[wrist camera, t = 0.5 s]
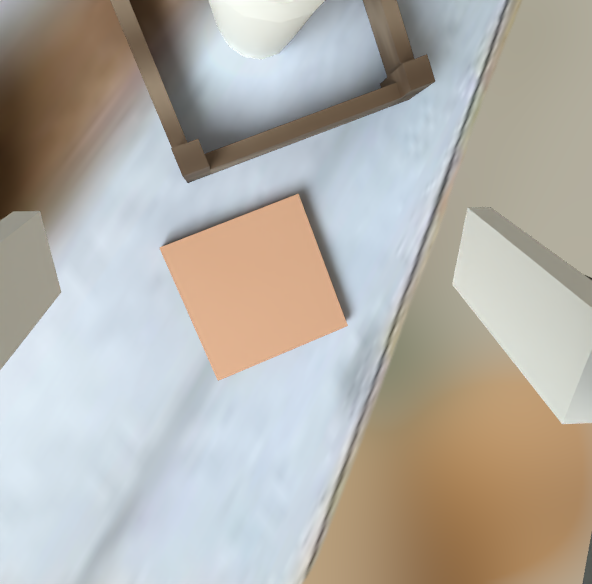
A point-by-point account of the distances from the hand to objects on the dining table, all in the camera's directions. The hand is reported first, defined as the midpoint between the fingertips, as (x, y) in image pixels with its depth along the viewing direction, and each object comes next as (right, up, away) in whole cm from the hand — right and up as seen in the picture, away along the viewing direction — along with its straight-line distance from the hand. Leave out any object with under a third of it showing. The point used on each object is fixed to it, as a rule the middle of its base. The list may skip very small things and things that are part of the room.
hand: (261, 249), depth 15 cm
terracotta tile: (-2, -1, +25) cm, 25 cm away
